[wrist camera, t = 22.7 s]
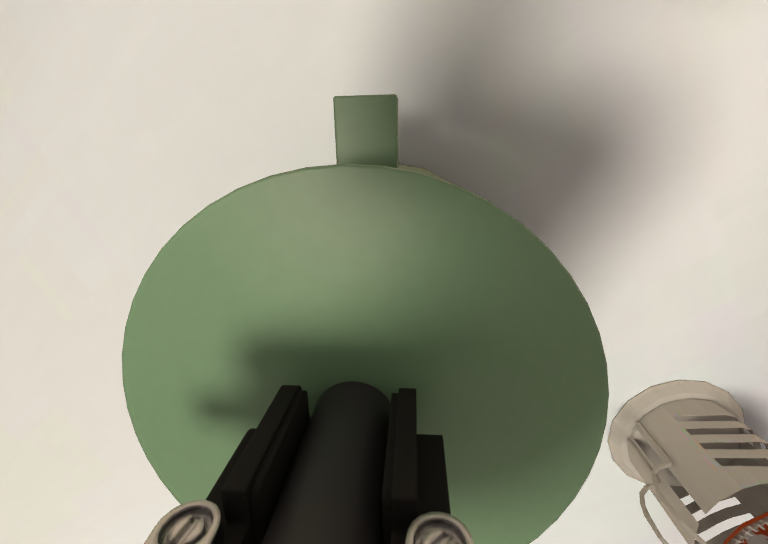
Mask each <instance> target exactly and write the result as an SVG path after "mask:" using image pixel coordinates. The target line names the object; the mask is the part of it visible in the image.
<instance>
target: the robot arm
mask: <svg viewBox="0 0 768 544" xmlns="http://www.w3.org/2000/svg"><path fill="white" fill-rule="evenodd" d="M309 421H310V415H309V404H308V393H307V391H306V390H302V388H301V386H300V385H282V386H281V387H280V389H279V390H278V392H277V394H276V396H275V397H274V399H273V401H272V403H271V404H270V406H269V408H268V409H267V411H266V413H265V415H264V416H263V418H262V420H261V422H260V423H259V425H258V427H257V428H251V429H249V430H248V431H247V433H246V434H245V436H244V437H243V439H242V441H241V442H240V444H239V445H238V447H237V449H236V450H235V452H234V454H233V455H232V457H231V459H230V460H229V462H228V464H227V465H226V467H225V468H224V470H223V472H222V473H221V475H220V477H219V478H218V480H217V482H216V483H215V485H214V487H213V488H212V490H211V491H210V493H209V495H208V496H207V498H206V500H194V501H189V502H187V503H184V504H181V505H179V506H178V507H176V508H174V509H172V510H171V511H169V512H168V513H167V514H166V515H165V516H164V517H162V518H161V520H160V521H159V522H158V523H157V525H156V526H155V527H154V529H153V530H152V532H151V533H150V535H149V537H148V538H147V540H146V541H145V543H144V544H261V542H262V539H263V537H264V534H265V532H266V529H267V527H268V524H269V522H270V519H271V517H272V514H273V512H274V509H275V507H276V504H277V502H278V499H279V497H280V494H281V492H282V489H283V487H284V484H285V481H286V479H287V476H288V474H289V471H290V469H291V466H292V464H293V461H294V459H295V456H296V454H297V451H298V449H299V446H300V444H301V441H302V439H303V436H304V434H305V431H306V428H307V426H308V423H309ZM382 535H383V544H474V543H473V539H472V535H471V533H470V532H469V530H468V528H467V527H466V525H464V524H463V523H462V522H461V521H460V520H459V519H458V518H456V517H454V516H452V515H451V512H450V502H449V492H448V482H447V472H446V462H445V452H444V442H443V436H442V435H430V434H417V406H416V388H399V392H398V393H392V395H391V405H390V416H389V426H388V436H387V446H386V457H385V467H384V477H383V488H382Z"/></svg>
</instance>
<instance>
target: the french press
mask: <svg viewBox="0 0 768 544" xmlns="http://www.w3.org/2000/svg"><path fill="white" fill-rule="evenodd" d="M745 429H748V431H749V432H750V434H745ZM749 442H753V445H754V447H753V446H752V445H751V444H750V443H749ZM759 442H761V443H764V445H765V446H766V449H761V446H760V443H759ZM608 443H609V447H610V451H611V455H612V459H613V461H614V462H615V463H616V464H617V465H618V466H619V467H620V468H621V469H622V470H623V471H624V473H625V474H626V475H628V476H630V477H632V478H635V479H637V480H639V481H641V482H644V483H646V485H645V486H644V487H643V488H642V490H641V491H640V492H639V493H640V504H641V507H642V510H643V513H644V516H645V517H646V519H647V521H648V522H649V524H650V525H651V527H652V529H653V530H654V532H655V533H656V535H657V537H658V538H659V539H660V541H661V542H662V543H663V544H668V543H667V541H666V540H665V539H664V538H663V537H662V535H661V534H660V532H659V530H658V529H657V527H656V525H655V524H654V522H653V520H652V519H651V517H650V515H649V513H648V511H647V509H646V506H645V500H644V495H645V493H646V492H647V491H648V490H649V489H650V490H651V492H652V493H653V495H654V496H655V497H656V499H657V500H658V502H659V503H660V505H661V506H662V507H663V509H664V510H665V512H666V513H667V515H668V516H669V517H670V519H671V520H672V522H673V523H674V525H675V526H676V527H677V529H678V530H679V532H680V533H681V535H682V536H683V537H684V539H685V540H686V542H687V543H688V544H768V459H767V458H768V443H767V442H766V441H764V440H763V439H761V438H760V437H758V436H756V435H755V434H754V432H753V431H752V430H751V429H750V428H748V427H747V426H746V425H745V424H744V417H743V410H742V408H741V407H740V406H739V405H738V404H737V402H736V401H735V400H734V399H733V397H732V396H731V395H730V394H729V392H727V391H724V390H722V389H720V388H718V387H716V386H714V385H711V384H709V383H707V382H700V381H686V380H676V381H672V382H668V383H664V384H660V385H656V386H652V387H650V388H648V389H647V390H645V391H643V392H642V393H640V394H639V395H637V396H635V397H634V398H632V399H631V400H629V401H628V402H627V403H626V404H625V405H624V407H623V408H622V409H621V411H620V412H619V413H618V414H617V416H616V417H615V418H614V419H613V422H612V426H611V430H610V434H609V438H608ZM689 494H690V496H691V497H692V498H693V499H694V502H692V503H690V504H688V505H686V506H685V505H684V504H683V503H682V501H681V500H680V499H681V498H683V497H685V496H687V495H689ZM733 497H736V498H737V499H738V500H739V502H740V503H741V504H739V505H735V506H731V507H728V508H725V509H722V510H720V511H718V512H715V513H713V514H710V515H708V516H707V517H705V518H703V519H701V520H700V521H698V522H697V521H696V520H695V518H694V517H693V516H692V514H693V513H695V512H697V511H699V510H701V509H702V510H703V512H704V513H705V514H706V513H707V512H708V511H709V510H710V509H711V508H712V507H713V506H715V505H716V504H717V503H718V502H719V501H722V500H726V499H729V498H733ZM747 513H751V514H752V515H753V517H754V518H753V519H751V520H749V521H747V522H744V523H742V524H741V525H738V526H736V527H733V528H731V529H729V530H726V531H724V532H722V533H720V534H719V535H717V536H715V537H714V538H712V539H710V540H709V541H707V542H705V541H704V540H703V539H702V538H701V537H699V536H698V535H697V534H699V533H701V532H703V531H705V530H707V529H709V528H711V527H712V526H714V525H716V524H718V523H720V522H722V521H725V520H727V519H729V518H732V517H735V516H739V515H743V514H747ZM694 539H696V540H694Z"/></svg>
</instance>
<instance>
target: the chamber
mask: <svg viewBox="0 0 768 544" xmlns="http://www.w3.org/2000/svg"><path fill="white" fill-rule="evenodd" d="M333 102H334V120H335V139H336V157H337V165H339V164H359V165H380V166H387V167H393V168H398V169H403V170H409V171H414V172H419V173H422V174H425V175H428V176H431V177H434V178H437V179H440V180H443V181H446V180H444V179H442V178H441V177H439V176H437V175H435V174H434V173H432V172H430V171H428V170H427V169H424V168H418V167H412V166H406V165H399V146H398V98H397V95H395V94H389V95H360V96H335V97H334V98H333ZM446 182H447V181H446Z"/></svg>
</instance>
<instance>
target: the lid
mask: <svg viewBox="0 0 768 544" xmlns="http://www.w3.org/2000/svg"><path fill="white" fill-rule="evenodd" d="M122 371H123V386H124V391H125V397H126V403H127V408H128V411H129V415H130V418H131V421H132V424H133V427H134V430H135V433H136V436H137V438H138V440H139V442H140V444H141V446H142V448H143V451H144V453H145V455H146V457H147V459H148V460H149V462H150V463H151V465H152V467H153V468H154V470H155V472H156V473H157V475H158V476H159V478H160V480H161V481H162V482H163V483H164V485H165V486H166V487H167V488H168V490H169V491H170V492H171V493H172V495H173V496H174V497H175V498H176V500H177V501H178V502H179V503H180V504H184V503H187V502H189V501H194V500H206V498H207V496H208V495H209V493H210V491H211V490H212V488H213V487H214V485H215V483H216V482H217V480H218V478H219V477H220V475H221V473H222V472H223V470H224V468H225V467H226V465H227V464H228V462H229V460H230V459H231V457H232V455H233V454H234V452H235V450H236V449H237V447H238V445H239V444H240V442H241V441H242V439H243V437H244V436H245V434H246V433H247V431H248V430H249V429H251V428H257V427H258V425H259V423H260V422H261V420H262V418H263V416H264V415H265V413H266V411H267V409H268V408H269V406H270V404H271V403H272V401H273V399H274V397H275V396H276V394H277V392H278V390H279V389H280V387H281V386H282V385H300V386H301V388H302V390H306V391H307V393H308V404H309V415H310V421H309V423H308V426H307V428H306V431H305V434H304V436H303V439H302V441H301V444H300V446H299V449H298V451H297V454H296V456H295V459H294V461H293V464H292V466H291V469H290V471H289V474H288V476H287V479H286V481H285V484H284V487H283V489H282V492H281V494H280V497H279V499H278V502H277V504H276V507H275V509H274V512H273V514H272V517H271V519H270V522H269V524H268V527H267V529H266V532H265V534H264V537H263V539H262V542H261V544H383V535H382V488H383V477H384V467H385V457H386V446H387V436H388V426H389V416H390V405H391V395H392V393H398V392H399V388H416V406H417V434H430V435H442V436H443V442H444V452H445V462H446V472H447V482H448V492H449V502H450V512H451V515H452V516H454V517H456V518H458V519H459V520H460V521H461V522H462V523H463V524H464V525H466V527H467V528H468V530H469V532H470V533H471V535H472V539H473V543H474V544H529V543H531V542H532V541H534V540H535V539H536V538H538V537H539V536H540V535H541V534H542V533H543V532H544V531H545V530H546V529H547V528H549V527H550V526H551V525H552V524H553V523H554V522H555V521H556V520H557V519H558V518H559V517H560V516H561V514H562V513H563V512H564V511H565V509H566V508H567V507H568V506H569V505H570V503H571V502H572V501H573V500H574V499H575V497H576V495H577V494H578V492H579V490H580V489H581V487H582V485H583V484H584V482H585V481H586V479H587V477H588V476H589V473H590V471H591V469H592V466H593V464H594V462H595V459H596V457H597V455H598V452H599V450H600V446H601V442H602V438H603V434H604V430H605V426H606V420H607V409H608V398H609V390H608V375H607V363H606V358H605V354H604V350H603V345H602V341H601V337H600V333H599V330H598V328H597V325H596V323H595V320H594V318H593V316H592V313H591V311H590V308H589V306H588V303H587V302H586V300H585V298H584V297H583V295H582V293H581V292H580V290H579V288H578V287H577V285H576V283H575V282H574V280H573V278H572V276H571V275H570V274H569V272H568V271H567V270H566V269H565V267H564V266H563V265H562V264H561V263H560V261H559V260H558V259H557V258H556V256H555V255H554V254H553V253H552V252H551V250H550V249H549V248H548V247H547V246H546V245H545V244H544V243H543V242H542V241H540V240H539V239H538V238H537V237H536V236H535V235H534V234H533V233H532V232H530V231H529V230H528V229H527V228H526V227H525V226H524V225H523V224H522V223H520V222H519V221H517V220H516V219H514V218H513V217H512V216H510V215H509V214H507V213H506V212H504V211H503V210H501V209H500V208H498V207H497V206H495V205H494V204H492V203H491V202H489V201H488V200H486V199H484V198H482V197H480V196H477V195H475V194H473V193H471V192H469V191H467V190H465V189H463V188H461V187H459V186H457V185H455V184H452V183H449V182H446V181H443V180H440V179H437V178H434V177H431V176H428V175H425V174H422V173H419V172H414V171H409V170H403V169H398V168H393V167H387V166H380V165H359V164H339V165H328V166H316V167H306V168H302V169H297V170H293V171H289V172H284V173H280V174H276V175H271V176H269V177H266V178H263V179H261V180H258V181H256V182H253V183H251V184H248V185H245V186H243V187H240V188H238V189H236V190H234V191H233V192H231V193H229V194H227V195H226V196H224V197H222V198H220V199H219V200H217V201H215V202H213V203H212V204H210V205H208V206H207V207H206V208H204V209H203V210H202V211H201V212H199V213H198V214H197V215H196V216H194V217H193V218H192V219H191V220H189V221H188V222H187V223H185V224H184V225H183V226H182V227H181V228H180V229H179V230H178V231H177V233H176V234H175V235H174V236H173V237H172V238H171V239H170V240H169V241H168V242H167V243H166V244H165V246H164V247H163V248H162V249H161V250H160V252H159V253H158V255H157V257H156V258H155V260H154V261H153V263H152V264H151V266H150V267H149V269H148V270H147V272H146V273H145V275H144V277H143V279H142V281H141V284H140V286H139V288H138V290H137V292H136V295H135V297H134V299H133V302H132V305H131V309H130V312H129V316H128V319H127V323H126V327H125V334H124V342H123V351H122Z"/></svg>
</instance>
